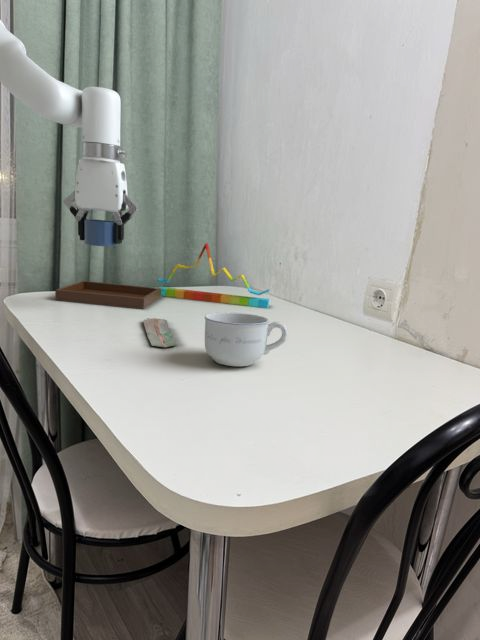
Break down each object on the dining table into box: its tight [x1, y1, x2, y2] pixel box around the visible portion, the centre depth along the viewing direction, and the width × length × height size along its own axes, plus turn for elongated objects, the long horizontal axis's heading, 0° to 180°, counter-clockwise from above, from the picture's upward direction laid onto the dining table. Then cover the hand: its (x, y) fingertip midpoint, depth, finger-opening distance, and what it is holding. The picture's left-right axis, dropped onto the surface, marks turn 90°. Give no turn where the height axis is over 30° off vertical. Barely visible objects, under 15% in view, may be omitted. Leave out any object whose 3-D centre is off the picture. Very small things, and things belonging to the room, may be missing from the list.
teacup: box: [204, 311, 289, 367], centre depth 85 cm, size 14×11×8 cm
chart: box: [156, 242, 271, 309], centre depth 134 cm, size 30×3×15 cm, turn 82°
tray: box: [54, 280, 162, 310], centre depth 127 cm, size 21×15×2 cm
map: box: [143, 317, 179, 348], centre depth 99 cm, size 5×20×1 cm, turn 17°
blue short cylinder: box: [83, 218, 118, 247], centre depth 109 cm, size 7×7×5 cm
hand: (101, 240), depth 110 cm, fingers closed on blue short cylinder, 6 cm apart
